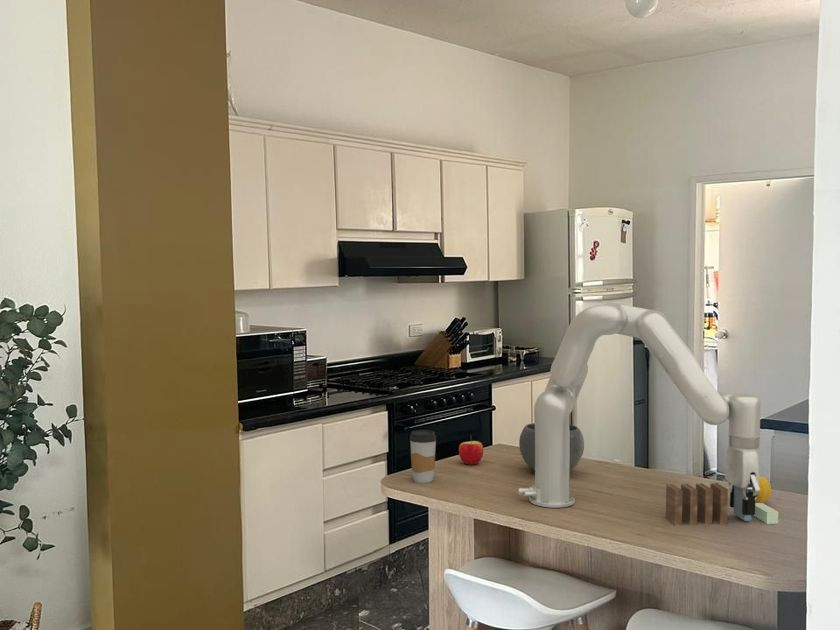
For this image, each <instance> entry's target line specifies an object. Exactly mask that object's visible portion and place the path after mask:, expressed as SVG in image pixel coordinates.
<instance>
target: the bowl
mask: <svg viewBox="0 0 840 630" xmlns="http://www.w3.org/2000/svg"><path fill="white" fill-rule="evenodd" d="M569 433H570V462H569V472H571V471H572V470H573V469H574V468H575V467H576V466H577V465H578V463H580V462H579V461H580V460H581V458H582V457H583V454H584V450H585V440H584V436H583V433H582V431H581V430H580V428H579V427H577V426H576V425H573V424H570V423H569ZM519 436H520V437H519V444H518V446H519V451H520V455H521V457H522V459H523V461H524V462H525V463H526V465H527V466H528V467H530V469H531V470H534V471H535V422H534V423H528V424H526V425H524V427H523V429H522V431H521V433H520V435H519Z"/></svg>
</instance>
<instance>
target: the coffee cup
mask: <svg viewBox="0 0 840 630" xmlns="http://www.w3.org/2000/svg"><path fill="white" fill-rule="evenodd" d="M435 433H436V432H435V431H432V430H428V429H427V430H426V429H423V430H422V429H419V430H413V431H411V434H410V435H409V443H410V461H411V473H412V480H413V482H415V483H418V484H428V483H431V482H433V480H434V475H435V474H434V473H435V464H436V446H437V445H436V443H437V442H436V441H437V435H436V434H435Z"/></svg>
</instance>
